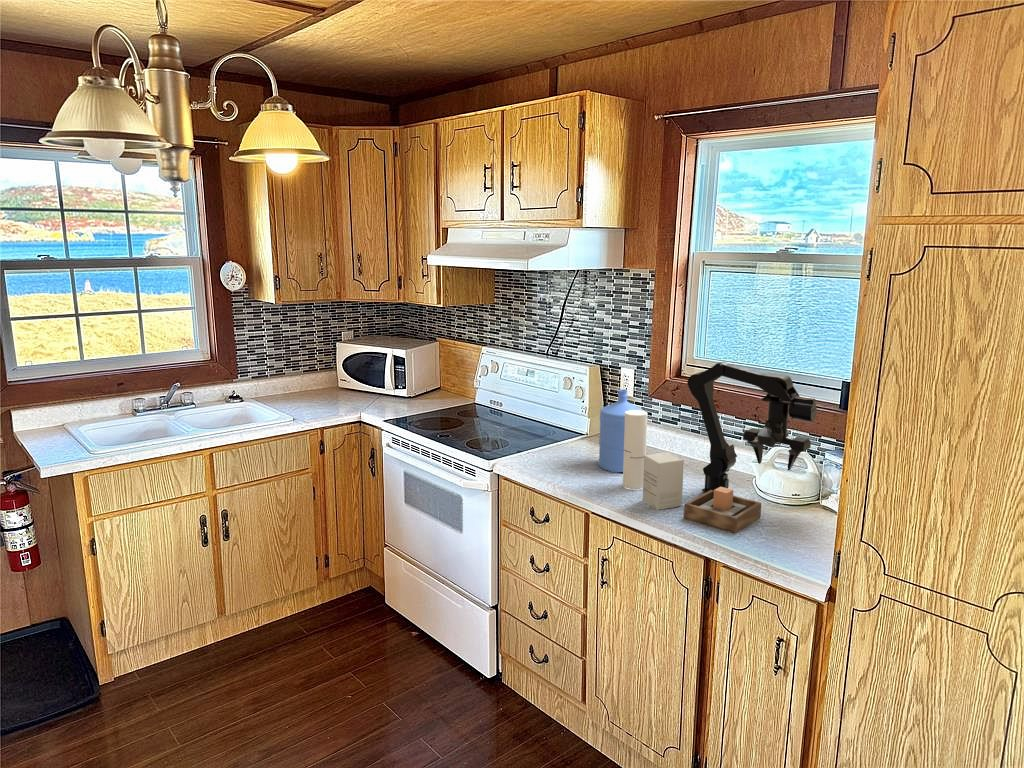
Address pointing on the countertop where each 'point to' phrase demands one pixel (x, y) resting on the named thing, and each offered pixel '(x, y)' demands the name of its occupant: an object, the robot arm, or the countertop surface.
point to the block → (723, 498)
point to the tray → (722, 517)
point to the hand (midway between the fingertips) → (774, 466)
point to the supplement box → (663, 480)
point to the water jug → (613, 433)
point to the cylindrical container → (634, 448)
